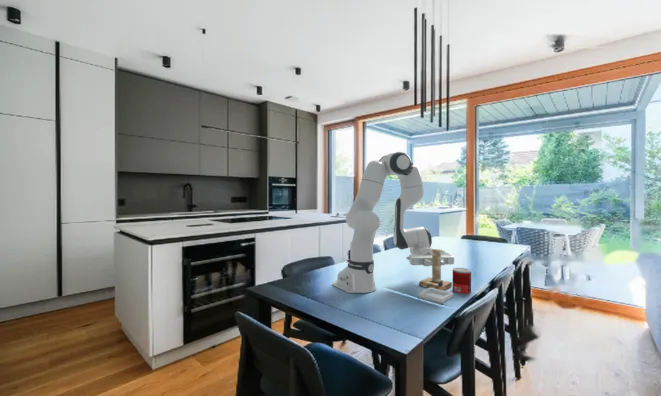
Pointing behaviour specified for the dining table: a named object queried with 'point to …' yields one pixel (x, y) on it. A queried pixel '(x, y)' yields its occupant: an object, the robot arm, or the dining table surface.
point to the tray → (435, 295)
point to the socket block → (435, 284)
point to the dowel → (436, 265)
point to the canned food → (462, 280)
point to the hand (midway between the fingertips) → (437, 263)
